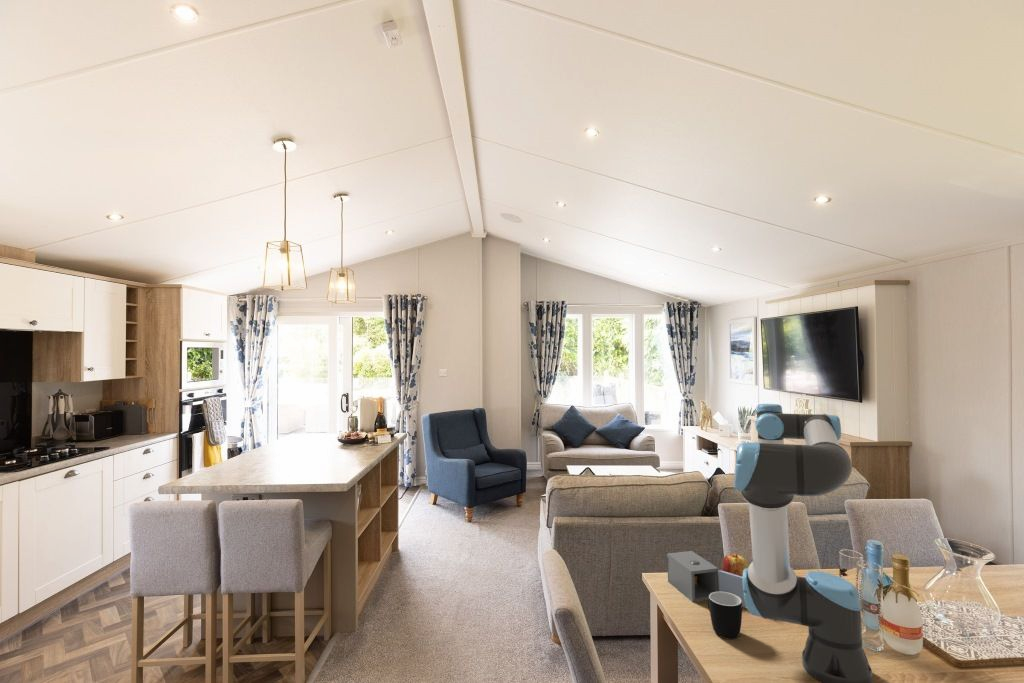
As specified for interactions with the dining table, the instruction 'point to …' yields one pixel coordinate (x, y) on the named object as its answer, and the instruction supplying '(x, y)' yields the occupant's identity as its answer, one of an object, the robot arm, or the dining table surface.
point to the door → (731, 584)
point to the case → (692, 575)
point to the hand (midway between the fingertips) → (774, 525)
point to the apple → (734, 564)
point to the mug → (725, 614)
